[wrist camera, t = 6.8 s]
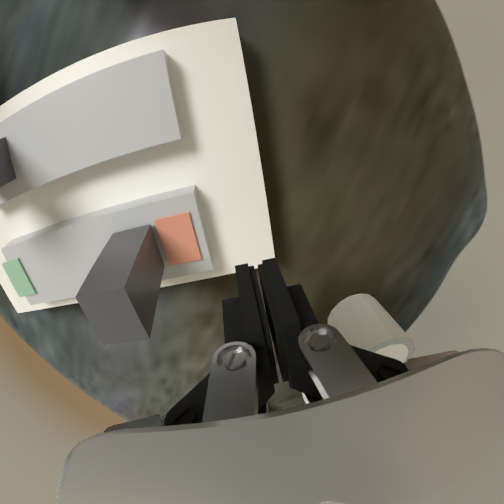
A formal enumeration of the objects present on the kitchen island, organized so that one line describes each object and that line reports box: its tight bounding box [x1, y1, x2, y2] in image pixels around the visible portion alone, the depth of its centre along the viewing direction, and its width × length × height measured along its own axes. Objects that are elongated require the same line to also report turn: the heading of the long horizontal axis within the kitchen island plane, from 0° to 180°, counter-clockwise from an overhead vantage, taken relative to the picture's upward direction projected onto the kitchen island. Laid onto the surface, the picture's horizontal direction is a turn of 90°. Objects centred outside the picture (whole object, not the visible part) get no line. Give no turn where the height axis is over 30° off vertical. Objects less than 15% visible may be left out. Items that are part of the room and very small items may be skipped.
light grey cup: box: [328, 293, 415, 363], centre depth 25 cm, size 7×7×7 cm
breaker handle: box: [76, 224, 165, 345], centre depth 14 cm, size 3×2×6 cm
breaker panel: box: [0, 18, 275, 313], centre depth 14 cm, size 16×23×10 cm
